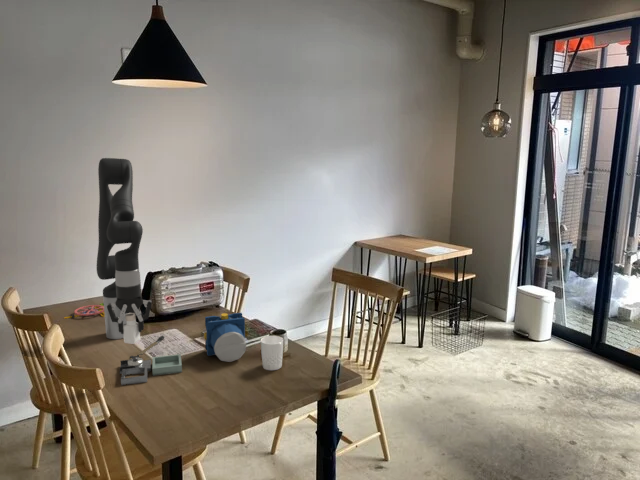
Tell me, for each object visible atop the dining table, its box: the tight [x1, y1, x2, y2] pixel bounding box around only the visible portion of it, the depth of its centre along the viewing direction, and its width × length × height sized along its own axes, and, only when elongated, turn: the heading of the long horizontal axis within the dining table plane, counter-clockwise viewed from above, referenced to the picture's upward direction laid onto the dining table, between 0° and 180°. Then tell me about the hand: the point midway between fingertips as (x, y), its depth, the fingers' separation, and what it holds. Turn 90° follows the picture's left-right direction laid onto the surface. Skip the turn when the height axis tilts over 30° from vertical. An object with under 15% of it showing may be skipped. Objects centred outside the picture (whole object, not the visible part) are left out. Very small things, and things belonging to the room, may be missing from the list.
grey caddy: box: [118, 357, 152, 386], centre depth 174 cm, size 15×10×4 cm, turn 17°
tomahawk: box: [129, 335, 165, 359], centre depth 196 cm, size 21×7×1 cm, turn 165°
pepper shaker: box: [123, 313, 141, 345], centre depth 168 cm, size 4×4×10 cm
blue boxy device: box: [203, 312, 247, 363], centre depth 188 cm, size 13×15×15 cm
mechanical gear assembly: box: [63, 302, 105, 320], centre depth 235 cm, size 30×4×15 cm
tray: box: [151, 353, 183, 377], centre depth 179 cm, size 10×10×3 cm
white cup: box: [260, 335, 284, 371], centre depth 180 cm, size 8×8×10 cm
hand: (131, 331), depth 168 cm, fingers closed on pepper shaker, 5 cm apart
